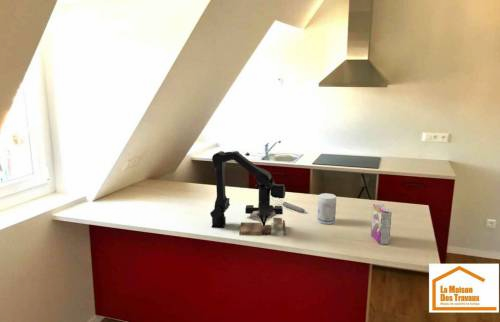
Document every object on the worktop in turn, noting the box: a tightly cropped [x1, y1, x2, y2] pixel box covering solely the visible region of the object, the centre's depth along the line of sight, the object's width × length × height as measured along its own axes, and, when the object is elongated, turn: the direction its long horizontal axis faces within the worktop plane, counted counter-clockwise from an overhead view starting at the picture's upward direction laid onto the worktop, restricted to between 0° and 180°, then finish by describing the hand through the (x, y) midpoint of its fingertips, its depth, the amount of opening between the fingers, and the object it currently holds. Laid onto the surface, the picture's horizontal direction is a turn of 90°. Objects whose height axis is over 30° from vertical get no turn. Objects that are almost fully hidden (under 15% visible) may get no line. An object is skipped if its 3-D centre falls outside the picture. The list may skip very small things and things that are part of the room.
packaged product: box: [246, 205, 277, 223], centre depth 212 cm, size 18×5×10 cm
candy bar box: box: [370, 203, 392, 246], centre depth 178 cm, size 11×5×16 cm, turn 5°
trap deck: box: [238, 219, 287, 237], centre depth 191 cm, size 23×12×4 cm, turn 87°
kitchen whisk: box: [270, 197, 306, 214], centre depth 226 cm, size 6×34×6 cm, turn 44°
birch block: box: [272, 217, 283, 229], centre depth 190 cm, size 4×4×4 cm
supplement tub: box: [317, 192, 337, 225], centre depth 202 cm, size 10×10×15 cm
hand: (263, 225), depth 191 cm, fingers closed
